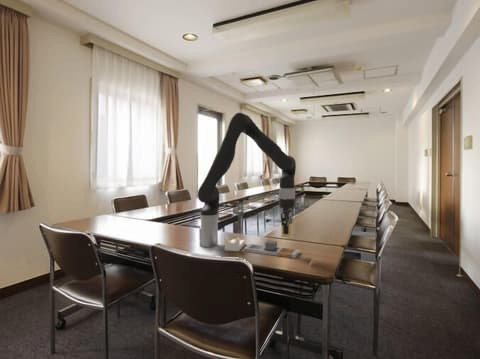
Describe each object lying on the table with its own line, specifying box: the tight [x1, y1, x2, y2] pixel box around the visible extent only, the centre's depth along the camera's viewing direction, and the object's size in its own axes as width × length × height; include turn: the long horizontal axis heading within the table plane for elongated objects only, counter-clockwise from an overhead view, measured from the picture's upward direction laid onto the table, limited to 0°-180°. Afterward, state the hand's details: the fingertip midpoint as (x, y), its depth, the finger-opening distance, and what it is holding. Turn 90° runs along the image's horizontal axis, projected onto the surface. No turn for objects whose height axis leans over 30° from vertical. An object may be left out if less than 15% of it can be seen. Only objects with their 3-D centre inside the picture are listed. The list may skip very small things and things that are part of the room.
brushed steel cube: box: [264, 240, 278, 252], centre depth 136 cm, size 4×4×5 cm
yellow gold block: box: [280, 221, 294, 239], centre depth 132 cm, size 4×4×6 cm
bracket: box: [224, 236, 246, 252], centre depth 145 cm, size 13×7×8 cm, turn 164°
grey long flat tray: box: [243, 243, 300, 259], centre depth 136 cm, size 26×9×3 cm, turn 65°
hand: (287, 232), depth 132 cm, fingers closed on yellow gold block, 4 cm apart
